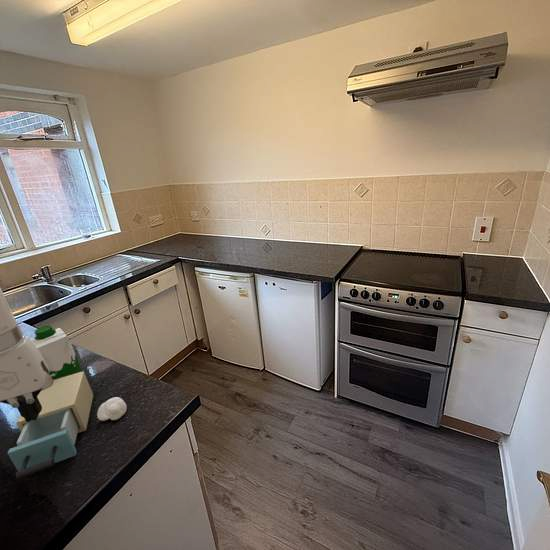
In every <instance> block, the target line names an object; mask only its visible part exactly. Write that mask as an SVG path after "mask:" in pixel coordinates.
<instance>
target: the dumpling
mask: <svg viewBox="0 0 550 550" xmlns="http://www.w3.org/2000/svg"><path fill="white" fill-rule="evenodd" d="M127 409H128V407H127V403H126V402H125V401H124V399H123V398H121V397H118V396H115V397H111V398H109V399H107V400H106V401H105V402H103V403H101V404H100V406H99V407H98V410H97V413H96V416H97V419H98V420H99V421H102V422H104V421H108V420H111V421H116V420H119V419H120V418H121V417H123V416H124V415H125V414H126V412H127Z"/></svg>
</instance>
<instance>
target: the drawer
mask: <svg viewBox="0 0 550 550" xmlns="http://www.w3.org/2000/svg"><path fill="white" fill-rule="evenodd" d="M78 428H79V423H78V420H77V418H76V416H75V414H74V411H73V409H72V408H69V409H66V410H63V411H60V412H57V413H54V414H51V415H48V416H45V417H42V418H39V419H36V420H32V421H30V422H26V423H25V425H24V428H23V430H22V432H21V431H20V433H19V437H18V438H17V441H16V445H17V446H13V447H12V448H9V449H8V451H7V456H8V457H9V459H10V460H11V462H12V464H13V466H14V467H15V469H16V470H17V471H16V473H15V478H16V479H17V480H20V479H23V478H26V477H29V476H31V475H34V474H36V473H39V472H42V471H44V470H47V469H49V468H52V467H54V466H55V464H56V463H59V462H61V461H64V460H67V459H69V458H72V457H76V455H77V452H78V451H77V450H78V449H76V446H75V445H76V441H77V437H78V434H79V433H78Z"/></svg>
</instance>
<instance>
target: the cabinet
mask: <svg viewBox="0 0 550 550" xmlns="http://www.w3.org/2000/svg"><path fill="white" fill-rule="evenodd" d="M37 398H38V400H39V402H40V404H41V406H42V410H41V412H40V413H39V415H38V418H37V419H39V418H42V417H45V416H48V415H51V414H54V413H57V412H60V411H63V410H66V409H69V408H72V409H73V411H74V414H75V416H76V418H77V420H78V423H79V428H78V433H77V434H80V433H82V432H85V431H87V428H88V423H89V417H90V414H91V413H90V412H91V409H92V408H91V407H92V404H93V399H94V393H93V390H92V388H91V386H90V383H89V380H88V378H87V377H86V373H85V371H84V370H82V372H79V373H76V374H72V375H69V376H66V377H62V378H59V379H55V380H54V382H53V384H52V386H51V387H49V388H47V389H45V390H42V391H41V392H40V393H39V394H38V396H37ZM31 421H32V420H31ZM25 423H26V420H25V419H24V417H22V416H21V414H20V413H19V416H18V418H17V421H16V423H15V424H16V425H17V427H18V428H19V430H20V433H21V432H22V430H23V428H24V425H25Z"/></svg>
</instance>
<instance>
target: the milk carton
mask: <svg viewBox="0 0 550 550" xmlns="http://www.w3.org/2000/svg"><path fill="white" fill-rule="evenodd" d="M34 335H35V336H34V337H32V338H29V339H30V340H31V341H32V342H33V343H34V345H35V346H36V347H37V349H38V350H39V352H40V353H41V355H42V356H43V358H44V360H45V362H46V364H47V366H48V368H49V371H50V374H49V376H50V377H51V378H52V379H53V380H55V379H59V378H62V377H66V376H69V375H72V374H76V373H79V372H82V371H83V370H82V366H81V364H80V362H79V359H78V356H77V354H76V352H75V349H74V347H73V344H72V343H71V340H70V338H69V336H68V335H67V334H66V333H65V331H63V330H62V329H61V328H60V327H58V328H56V329H53V327H52V325H44V326H41V327H39V328H37V329H35V330H34Z"/></svg>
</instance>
